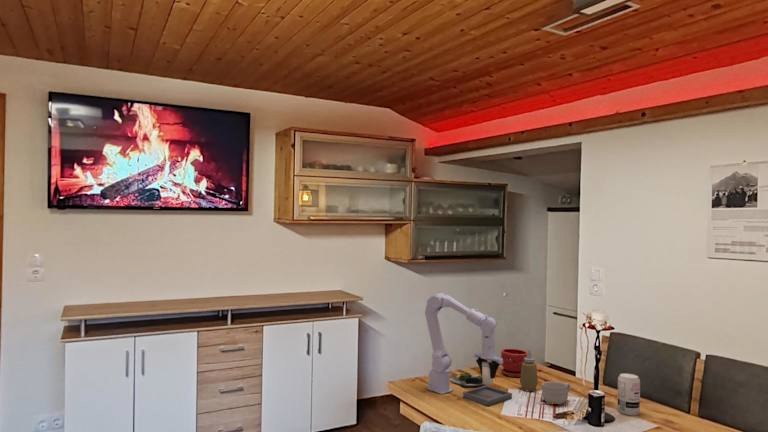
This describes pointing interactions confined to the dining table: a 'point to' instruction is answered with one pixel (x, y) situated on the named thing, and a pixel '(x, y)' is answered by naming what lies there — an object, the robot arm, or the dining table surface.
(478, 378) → the salad plate
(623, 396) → the supplement can
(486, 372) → the salt shaker
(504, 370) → the plant pot
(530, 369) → the squeeze bottle
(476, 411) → the dining table surface
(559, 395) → the teacup
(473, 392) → the tray
